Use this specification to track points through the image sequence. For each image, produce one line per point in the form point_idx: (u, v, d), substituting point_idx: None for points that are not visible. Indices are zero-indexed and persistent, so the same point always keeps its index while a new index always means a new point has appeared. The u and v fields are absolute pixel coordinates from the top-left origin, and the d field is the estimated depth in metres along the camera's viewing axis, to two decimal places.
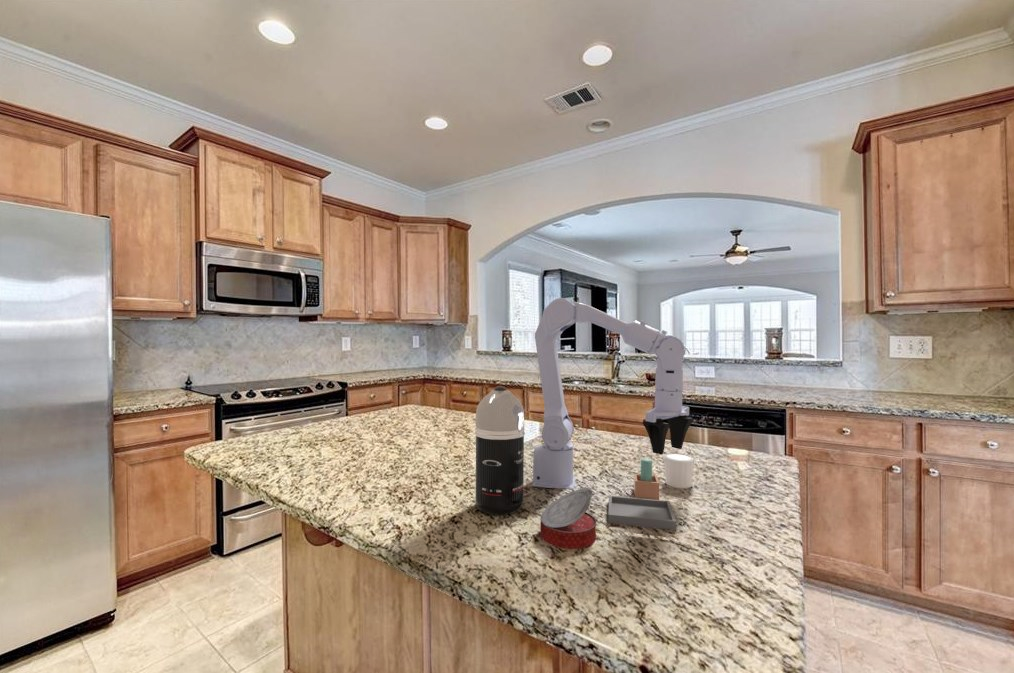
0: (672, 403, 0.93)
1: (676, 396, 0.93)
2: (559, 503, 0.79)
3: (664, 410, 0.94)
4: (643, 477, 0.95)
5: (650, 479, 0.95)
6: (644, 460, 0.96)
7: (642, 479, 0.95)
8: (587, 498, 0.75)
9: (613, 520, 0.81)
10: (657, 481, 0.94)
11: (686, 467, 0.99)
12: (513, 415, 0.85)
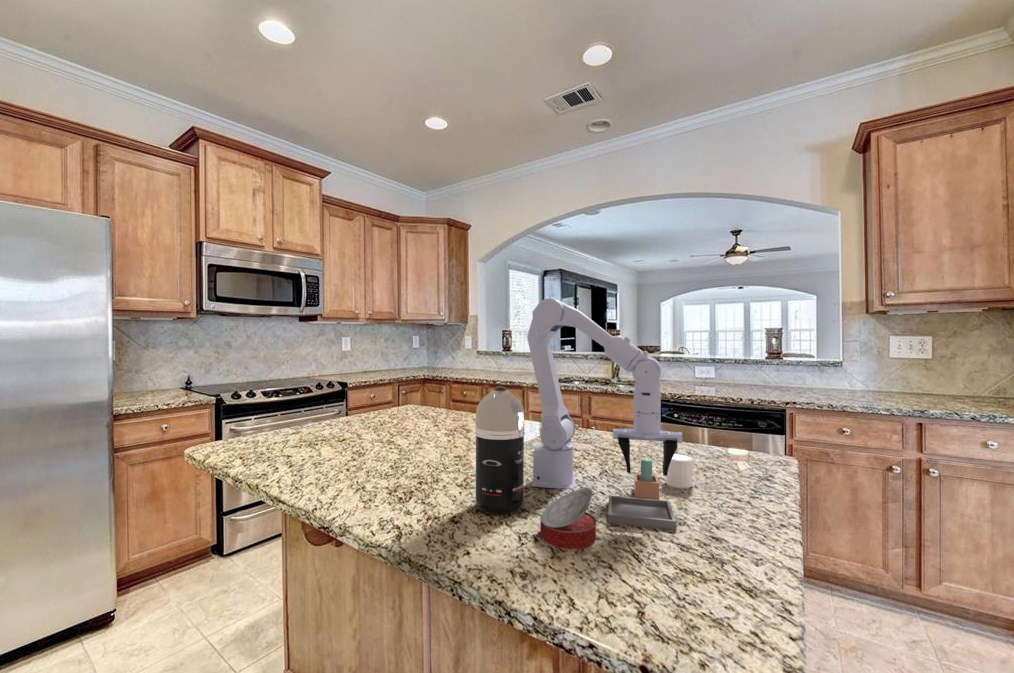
0: (638, 424, 0.94)
1: (642, 418, 0.93)
2: (559, 503, 0.79)
3: (634, 430, 0.95)
4: (643, 477, 0.95)
5: (650, 479, 0.95)
6: (644, 460, 0.96)
7: (642, 479, 0.95)
8: (587, 498, 0.75)
9: (613, 520, 0.81)
10: (657, 481, 0.94)
11: (686, 467, 0.99)
12: (513, 415, 0.85)
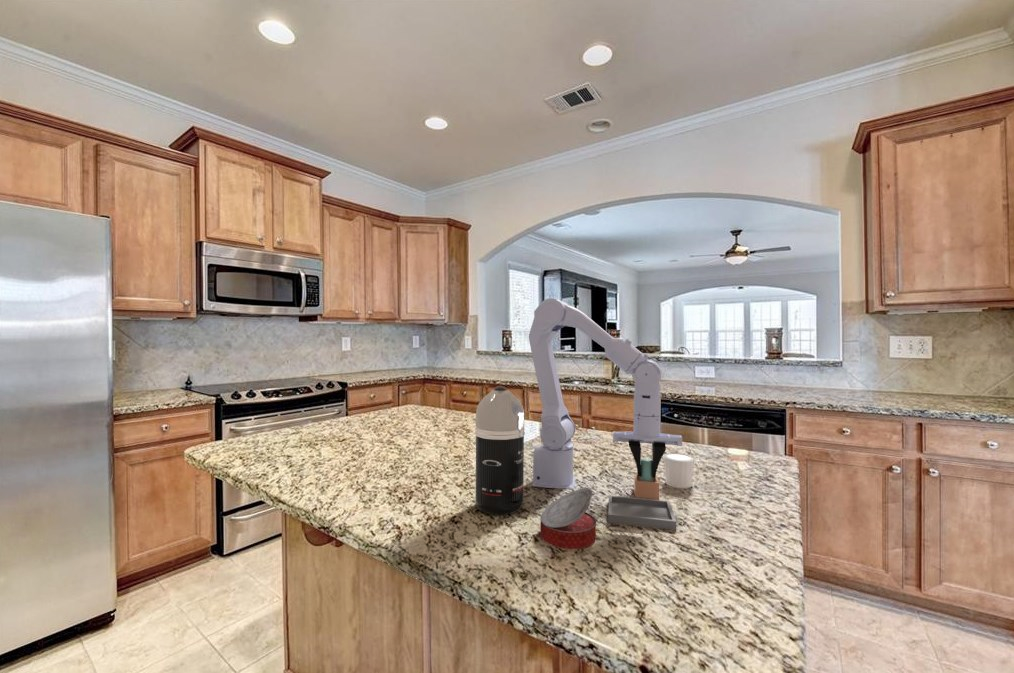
0: (637, 427, 0.94)
1: (642, 421, 0.93)
2: (559, 503, 0.79)
3: (633, 433, 0.96)
4: (643, 477, 0.95)
5: (650, 479, 0.95)
6: (644, 460, 0.96)
7: (642, 479, 0.95)
8: (587, 498, 0.75)
9: (613, 520, 0.81)
10: (657, 481, 0.94)
11: (686, 467, 0.99)
12: (513, 415, 0.85)
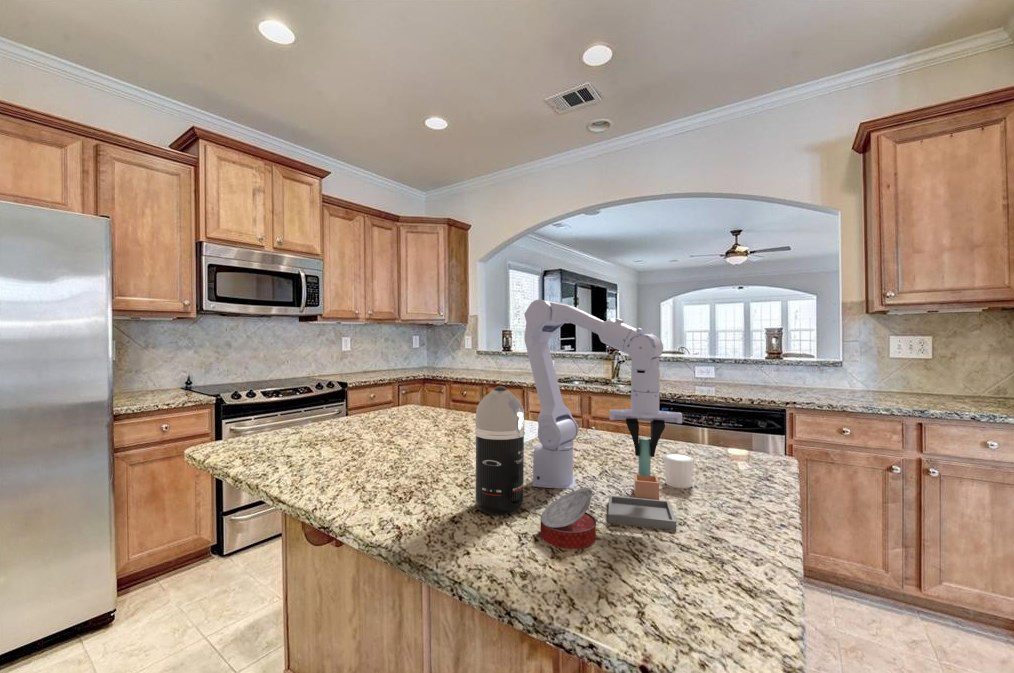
0: (635, 404, 0.89)
1: (640, 397, 0.89)
2: (559, 503, 0.79)
3: (631, 410, 0.91)
4: (641, 456, 0.90)
5: (649, 458, 0.90)
6: (642, 439, 0.91)
7: (640, 459, 0.90)
8: (587, 498, 0.75)
9: (613, 520, 0.81)
10: (657, 481, 0.94)
11: (686, 467, 0.99)
12: (513, 415, 0.85)
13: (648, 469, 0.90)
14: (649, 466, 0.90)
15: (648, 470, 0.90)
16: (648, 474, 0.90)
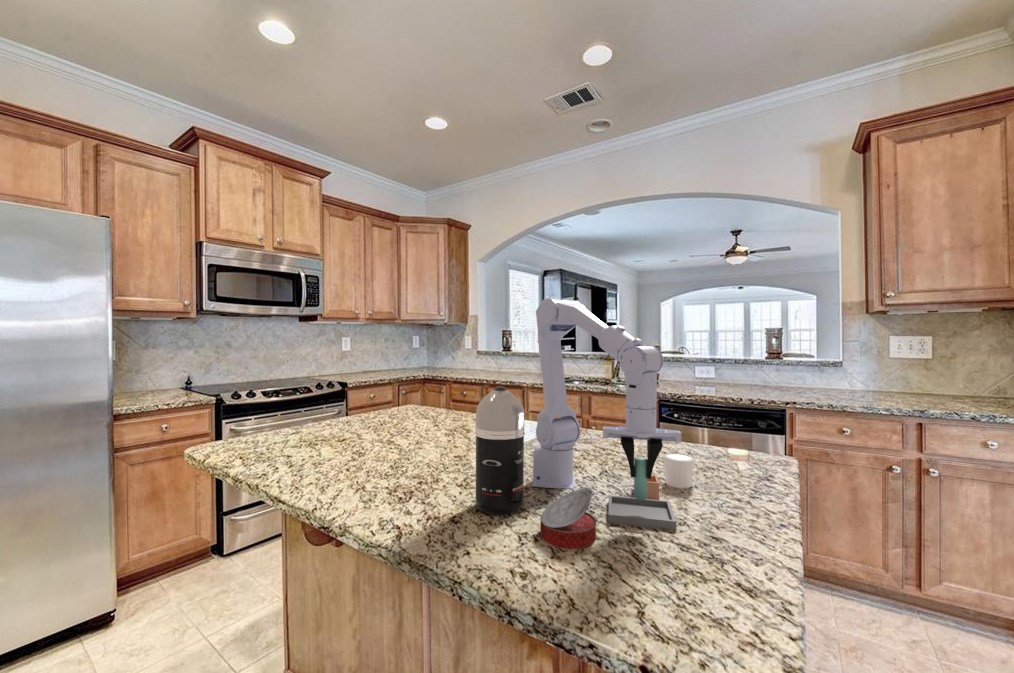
0: (630, 422, 0.83)
1: (635, 414, 0.82)
2: (559, 503, 0.79)
3: (626, 428, 0.84)
4: (637, 478, 0.84)
5: (645, 480, 0.83)
6: (638, 459, 0.84)
7: (636, 480, 0.84)
8: (587, 498, 0.75)
9: (613, 520, 0.81)
10: (657, 481, 0.94)
11: (686, 467, 0.99)
12: (513, 415, 0.85)
13: (644, 492, 0.83)
14: (645, 488, 0.84)
15: (644, 493, 0.83)
16: (644, 497, 0.83)
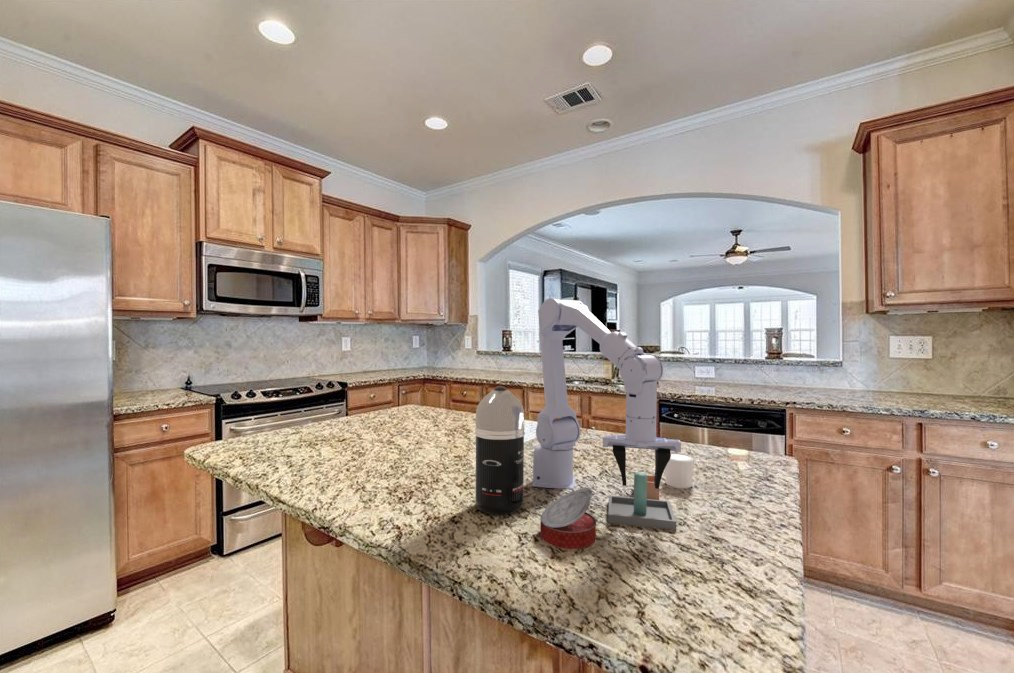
0: (630, 431, 0.83)
1: (635, 423, 0.82)
2: (559, 503, 0.79)
3: (626, 437, 0.84)
4: (637, 493, 0.84)
5: (644, 496, 0.83)
6: (638, 474, 0.84)
7: (635, 496, 0.84)
8: (587, 498, 0.75)
9: (613, 520, 0.81)
10: None
11: (686, 467, 0.99)
12: (513, 415, 0.85)
13: (644, 507, 0.83)
14: (645, 504, 0.84)
15: (644, 508, 0.83)
16: (644, 512, 0.83)
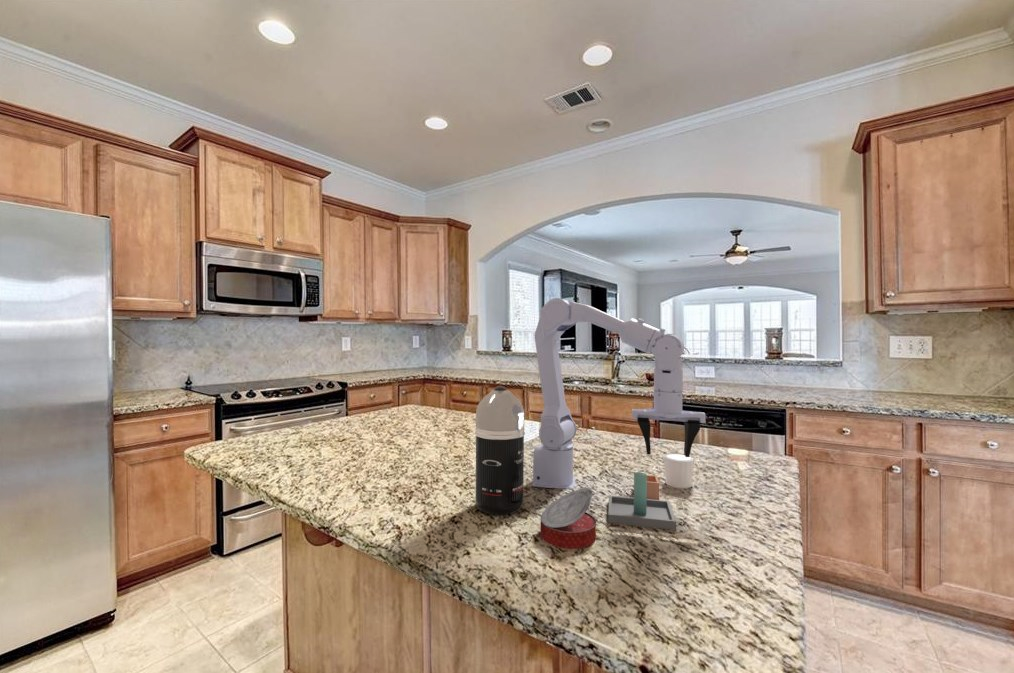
0: (659, 404, 0.90)
1: (663, 397, 0.89)
2: (559, 503, 0.79)
3: (654, 410, 0.92)
4: (636, 493, 0.84)
5: (644, 496, 0.83)
6: (638, 474, 0.84)
7: (635, 496, 0.84)
8: (587, 498, 0.75)
9: (613, 520, 0.81)
10: (657, 481, 0.94)
11: (686, 467, 0.99)
12: (513, 415, 0.85)
13: (644, 507, 0.83)
14: (645, 504, 0.84)
15: (644, 508, 0.83)
16: (644, 512, 0.83)
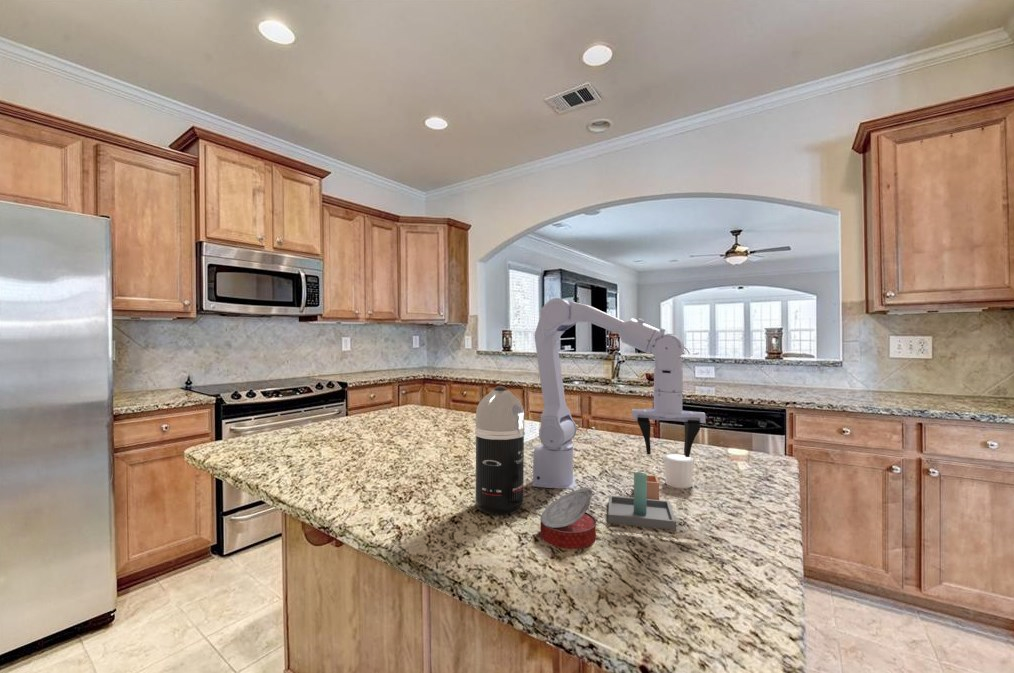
0: (659, 404, 0.90)
1: (663, 397, 0.89)
2: (559, 503, 0.79)
3: (654, 410, 0.92)
4: (636, 493, 0.84)
5: (644, 496, 0.83)
6: (638, 474, 0.84)
7: (635, 496, 0.84)
8: (587, 498, 0.75)
9: (613, 520, 0.81)
10: (657, 481, 0.94)
11: (686, 467, 0.99)
12: (513, 415, 0.85)
13: (644, 507, 0.83)
14: (645, 504, 0.84)
15: (644, 508, 0.83)
16: (644, 512, 0.83)
